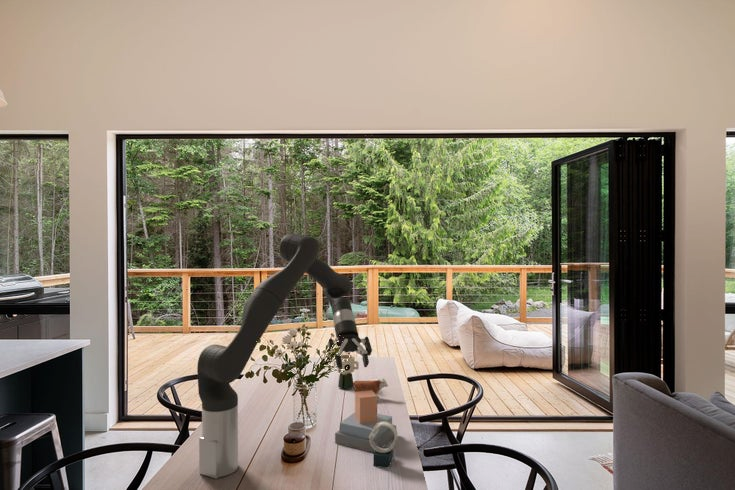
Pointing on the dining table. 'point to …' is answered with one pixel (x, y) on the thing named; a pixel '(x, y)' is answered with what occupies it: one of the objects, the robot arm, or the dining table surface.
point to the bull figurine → (370, 385)
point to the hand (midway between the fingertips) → (353, 366)
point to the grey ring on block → (382, 453)
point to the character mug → (347, 371)
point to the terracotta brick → (366, 407)
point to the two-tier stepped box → (363, 433)
